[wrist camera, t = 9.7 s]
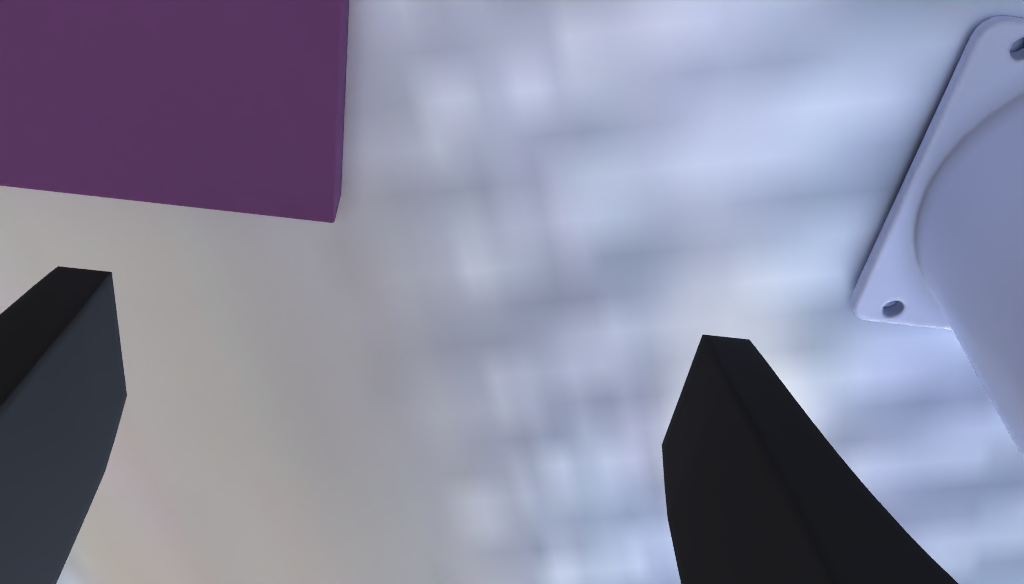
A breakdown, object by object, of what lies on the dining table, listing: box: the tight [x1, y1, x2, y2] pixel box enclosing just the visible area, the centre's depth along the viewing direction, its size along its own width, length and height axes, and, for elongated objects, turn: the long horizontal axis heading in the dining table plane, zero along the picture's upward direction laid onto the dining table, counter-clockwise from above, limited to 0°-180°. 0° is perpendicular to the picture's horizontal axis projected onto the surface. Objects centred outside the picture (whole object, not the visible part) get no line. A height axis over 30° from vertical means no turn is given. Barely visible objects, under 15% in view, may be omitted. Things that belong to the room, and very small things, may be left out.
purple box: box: [0, 0, 349, 223], centre depth 20 cm, size 9×7×2 cm
